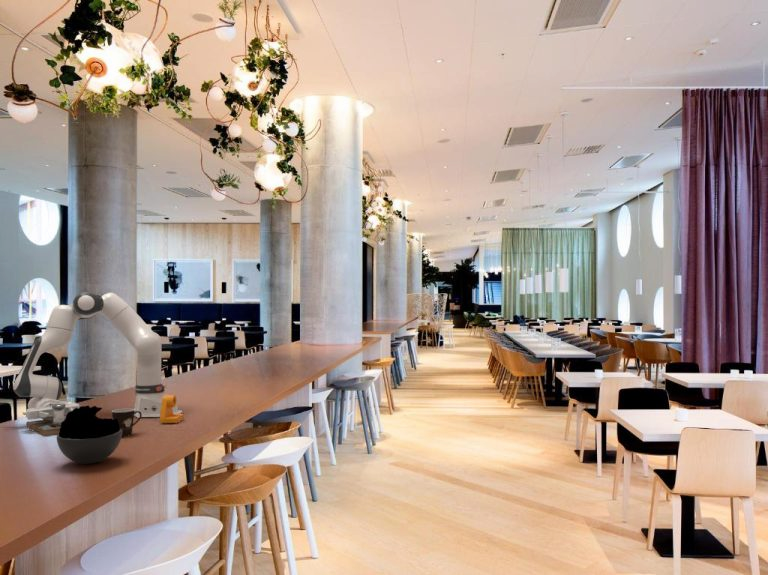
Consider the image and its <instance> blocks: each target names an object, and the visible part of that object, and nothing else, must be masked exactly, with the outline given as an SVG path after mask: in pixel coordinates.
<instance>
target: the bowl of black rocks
mask: <svg viewBox="0 0 768 575" xmlns="http://www.w3.org/2000/svg"><path fill="white" fill-rule="evenodd" d="M102 409H103V407H98V406H97V405H93V406H91V407H90V405H81V406H80V407H79V409H78V408H75V409H74V410H72V411H70V412H69V413H67V415H66V416H65V418H64V419H65V420H64V421H63V422H62V423H61V428H60V431H59V434H58V435H56V442H57V446H58V449H59V450H60V452H61V453H62V454H63V455H64V456H65V457H66V458H67V459H69V460H71V461H72V462H75V463H78V464H82V465H84V464H85V465H88V464H96V463H98V462H101V461H104V460H105V459H107V458H108V457H110V456H111V455H112V454H113V453H114V452H115V451H116V450H117V448H119V445H120V443H121V440H122V438H123V437H122V429H120V426H119V422H118V420H117V418H116V419H114V420H113V419H112V418H109V417H107V418H105V417H104V418H101V417H98V416H97V414H98V412H100V411H102Z"/></svg>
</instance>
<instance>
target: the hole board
mask: <svg viewBox="0 0 768 575" xmlns="http://www.w3.org/2000/svg"><path fill="white" fill-rule="evenodd" d="M65 419H66V418H64V420H65ZM25 424H26V425H25V427H27V428H26V429H28V428H29V429H28V430H30V429H31V431H32V430H33V431H32V432H34V431H35V433H36V432H37V434H38V433H39V435H41V436H43V437H49V436H50V437H52V436H57V435H58V434H59V431H60V428H61V427H56V428H53V419H52V420H43V419H39V420H31V421H30V420H29V421H26V422H25ZM51 435H52V436H51Z"/></svg>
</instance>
